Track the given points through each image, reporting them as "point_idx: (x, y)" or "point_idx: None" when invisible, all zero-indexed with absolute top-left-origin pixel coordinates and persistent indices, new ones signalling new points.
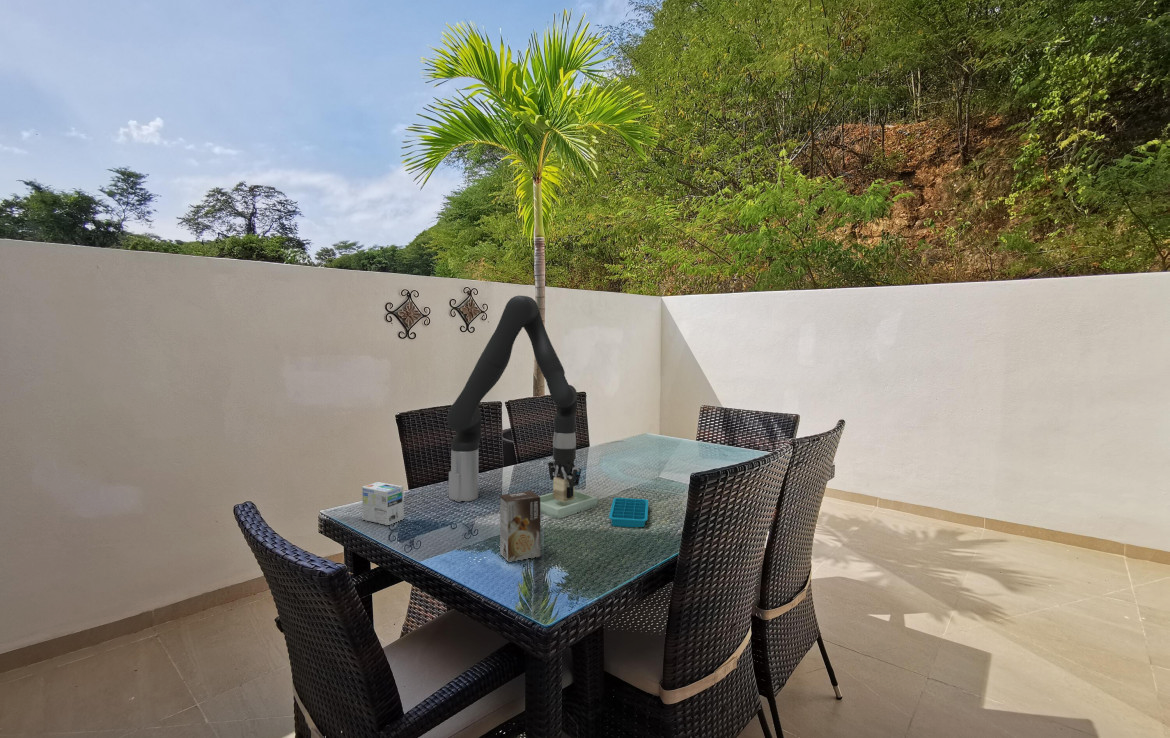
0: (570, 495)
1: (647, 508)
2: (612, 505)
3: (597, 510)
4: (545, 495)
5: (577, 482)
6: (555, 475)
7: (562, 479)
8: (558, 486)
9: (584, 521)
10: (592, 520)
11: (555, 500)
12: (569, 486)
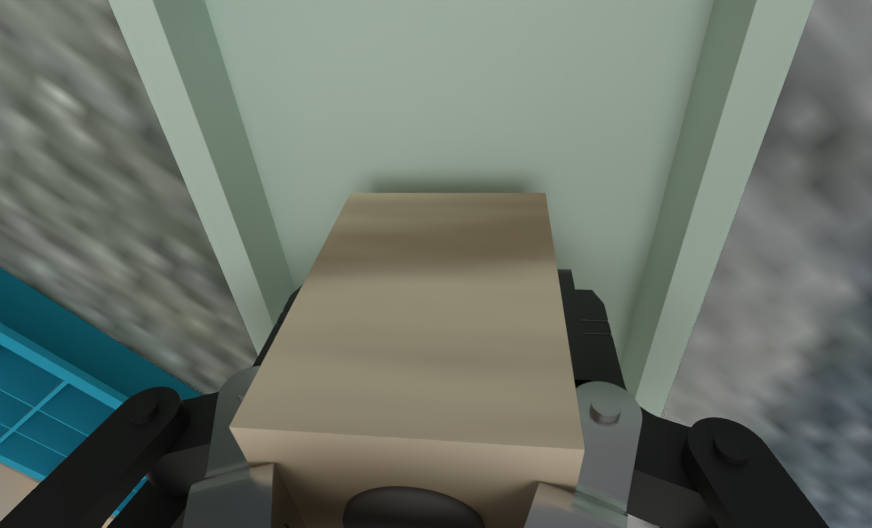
0: (293, 298)
1: (4, 462)
2: (111, 399)
3: (240, 333)
4: (710, 189)
5: (144, 492)
6: (572, 526)
7: (337, 465)
8: (419, 317)
9: (20, 103)
10: (34, 173)
11: (604, 247)
12: (231, 383)
